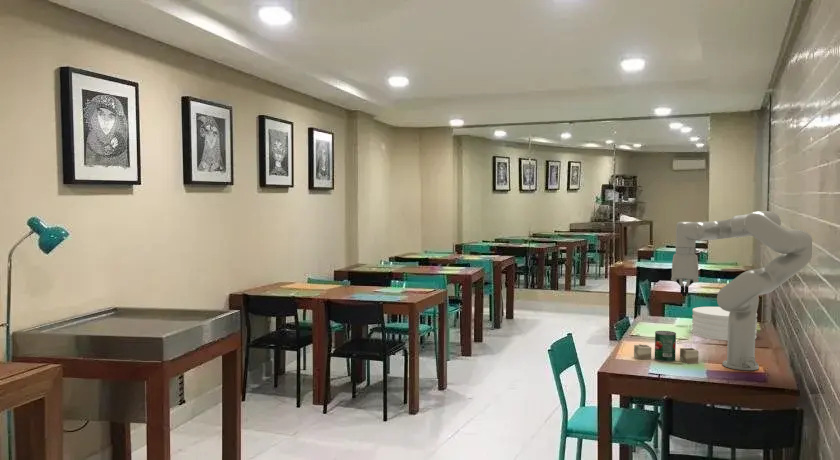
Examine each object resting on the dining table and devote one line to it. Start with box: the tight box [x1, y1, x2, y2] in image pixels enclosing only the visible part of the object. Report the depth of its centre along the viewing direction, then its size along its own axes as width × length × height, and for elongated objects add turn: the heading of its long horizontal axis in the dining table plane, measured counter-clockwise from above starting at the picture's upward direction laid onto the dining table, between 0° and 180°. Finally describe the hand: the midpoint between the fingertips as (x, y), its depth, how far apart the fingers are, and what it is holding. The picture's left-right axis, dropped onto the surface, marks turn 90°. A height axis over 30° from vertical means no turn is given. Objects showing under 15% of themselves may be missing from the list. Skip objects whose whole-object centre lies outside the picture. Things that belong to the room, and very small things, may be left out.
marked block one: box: [679, 347, 700, 364], centre depth 259 cm, size 5×5×5 cm
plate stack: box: [691, 306, 758, 342], centre depth 313 cm, size 28×28×12 cm
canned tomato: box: [654, 330, 677, 363], centre depth 262 cm, size 8×8×11 cm
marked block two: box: [633, 344, 652, 361], centre depth 264 cm, size 5×5×5 cm
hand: (684, 295), depth 270 cm, fingers closed
